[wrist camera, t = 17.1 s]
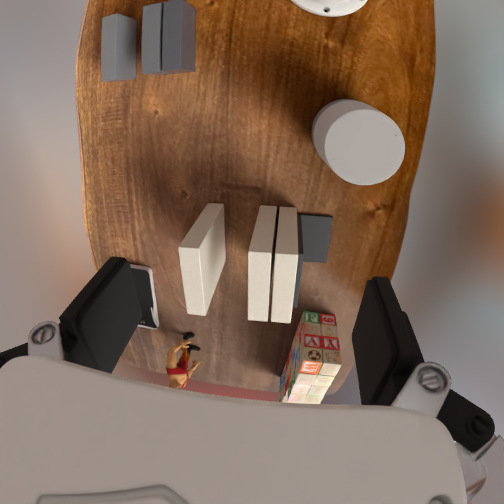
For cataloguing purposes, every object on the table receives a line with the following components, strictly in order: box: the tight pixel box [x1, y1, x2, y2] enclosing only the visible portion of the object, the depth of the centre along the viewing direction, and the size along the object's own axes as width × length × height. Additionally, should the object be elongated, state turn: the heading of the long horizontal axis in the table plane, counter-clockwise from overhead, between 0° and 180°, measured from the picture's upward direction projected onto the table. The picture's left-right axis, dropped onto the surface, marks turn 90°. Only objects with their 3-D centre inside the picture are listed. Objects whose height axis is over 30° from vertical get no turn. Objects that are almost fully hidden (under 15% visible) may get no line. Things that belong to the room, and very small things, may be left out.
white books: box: [248, 205, 333, 323], centre depth 41 cm, size 10×11×14 cm
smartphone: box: [130, 264, 159, 330], centre depth 56 cm, size 8×1×15 cm
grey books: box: [101, 0, 196, 82], centre depth 31 cm, size 10×12×6 cm
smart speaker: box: [312, 99, 405, 185], centre depth 32 cm, size 10×9×14 cm
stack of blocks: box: [279, 311, 341, 404], centre depth 54 cm, size 21×6×12 cm, turn 172°
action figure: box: [166, 333, 200, 389], centre depth 55 cm, size 10×4×15 cm, turn 10°
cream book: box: [178, 203, 226, 316], centre depth 42 cm, size 10×2×14 cm, turn 179°
